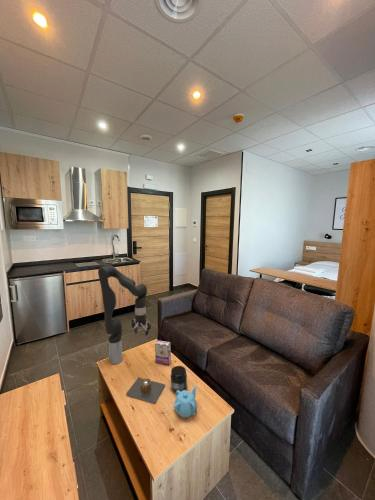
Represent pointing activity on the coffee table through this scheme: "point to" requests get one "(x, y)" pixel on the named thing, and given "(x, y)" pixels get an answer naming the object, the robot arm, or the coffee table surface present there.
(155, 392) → the grey metal plate
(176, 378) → the supplement container
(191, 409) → the teapot
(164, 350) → the candy bar box
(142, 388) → the collar
